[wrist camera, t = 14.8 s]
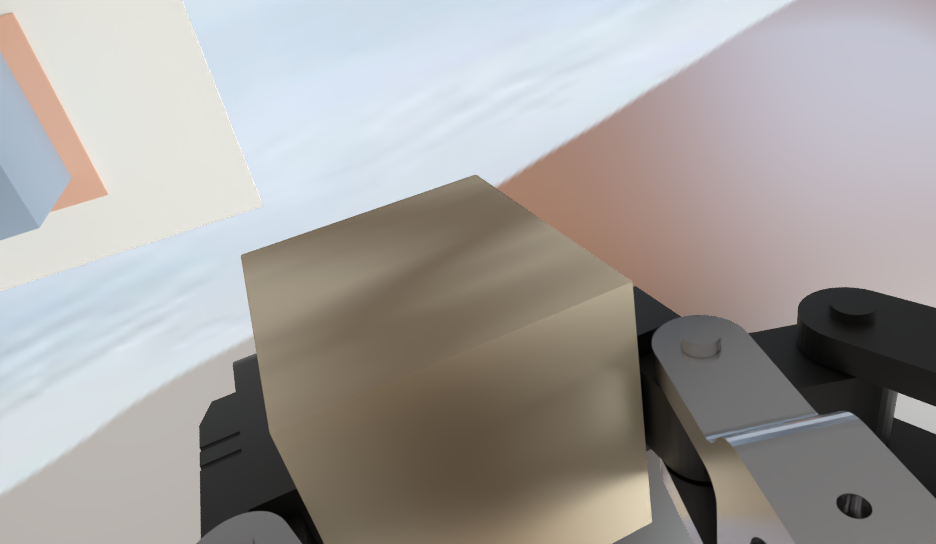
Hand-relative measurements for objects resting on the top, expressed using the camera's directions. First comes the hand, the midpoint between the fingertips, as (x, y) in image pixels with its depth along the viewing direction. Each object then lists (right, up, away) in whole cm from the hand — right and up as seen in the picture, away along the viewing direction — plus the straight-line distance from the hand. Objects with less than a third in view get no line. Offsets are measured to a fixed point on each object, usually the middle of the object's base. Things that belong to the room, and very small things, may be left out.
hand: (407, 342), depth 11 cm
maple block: (0, 0, +1) cm, 1 cm away
